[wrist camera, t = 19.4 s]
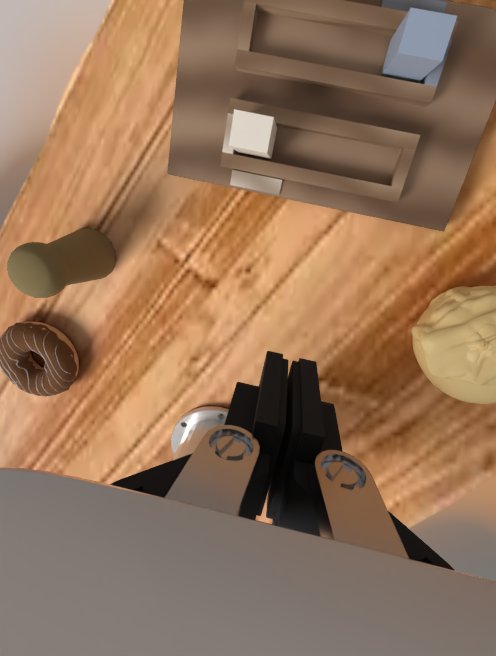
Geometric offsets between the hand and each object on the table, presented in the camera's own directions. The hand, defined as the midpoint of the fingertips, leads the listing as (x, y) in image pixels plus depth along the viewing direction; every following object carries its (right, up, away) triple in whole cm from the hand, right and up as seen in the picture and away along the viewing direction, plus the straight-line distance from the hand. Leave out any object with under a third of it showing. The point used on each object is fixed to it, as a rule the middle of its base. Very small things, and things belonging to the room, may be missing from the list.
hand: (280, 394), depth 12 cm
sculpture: (+22, +3, +28) cm, 36 cm away
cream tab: (0, +20, +21) cm, 29 cm away
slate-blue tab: (+12, +25, +18) cm, 33 cm away
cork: (-20, +11, +30) cm, 38 cm away
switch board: (+6, +23, +22) cm, 32 cm away
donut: (-28, -1, +36) cm, 46 cm away
